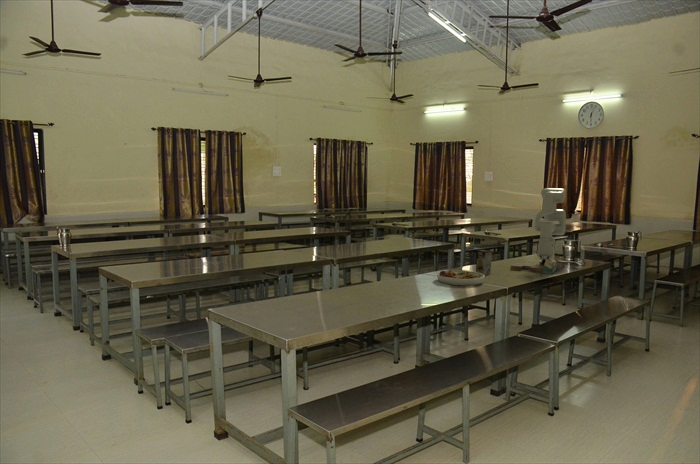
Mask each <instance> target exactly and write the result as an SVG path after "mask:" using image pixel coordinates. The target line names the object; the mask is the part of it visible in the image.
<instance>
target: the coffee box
mask: <svg viewBox="0 0 700 464" xmlns="http://www.w3.org/2000/svg"><path fill="white" fill-rule="evenodd" d="M492 254H493V250H492V251H490V250H487V249H476V260H475V261H476V262H475V263H476V267H475V272H477V273H481V274H483V275H491V273H492V258H493V257H492V256H493V255H492Z"/></svg>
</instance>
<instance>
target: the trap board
mask: <svg viewBox="0 0 700 464" xmlns="http://www.w3.org/2000/svg"><path fill="white" fill-rule="evenodd" d="M557 267H558V266H557V265H555V266H554V268H548V267H546V266H544V265H538V264H537V263H529V262H528V263H527V262H526V263H524V262H514V263H513V264H511V265H510V271H511V270H512V271H519V272H531V273H540V274H541V273H542V274H550V275H551V274H554V273H555V272H556V271H557Z"/></svg>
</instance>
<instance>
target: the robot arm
mask: <svg viewBox="0 0 700 464" xmlns="http://www.w3.org/2000/svg"><path fill="white" fill-rule="evenodd" d="M540 194H541V197H542V200H543V201H542V209H541V210H540V211H539V212H538V213H537V214H536V215H535V218H534V230H535V231H536V232H540V233H539V234H540V235H539V240H538V244H537V252H536V253H537V254H536V257H537V258H538V257H539V258H540V259H538V261H539V262H540V263H541V264H542V266H544V264H545V261H546V259H552V260H554V261H555V249H556V248H555V247H556V239H555V238H554V237H553V236H564V235H565V234H566V229H567V228H566V225H567V224H566V222H567V214H566V211H565V210H564V209H560V208H558V209H557V204H563V203H564V201H565V199H566V190H565V188H557V187H556V188H551V187H548V188H547V187H545V188H543V189H541V191H540ZM543 217H544V220H545V221H541V219H542V218H543Z"/></svg>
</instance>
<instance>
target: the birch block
mask: <svg viewBox="0 0 700 464" xmlns="http://www.w3.org/2000/svg"><path fill="white" fill-rule="evenodd" d="M556 264H557V261H556V260H555V259H554V260H552V259H546V261H545V264H544V265H543V266H546V267H548V268H554V266H556Z"/></svg>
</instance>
